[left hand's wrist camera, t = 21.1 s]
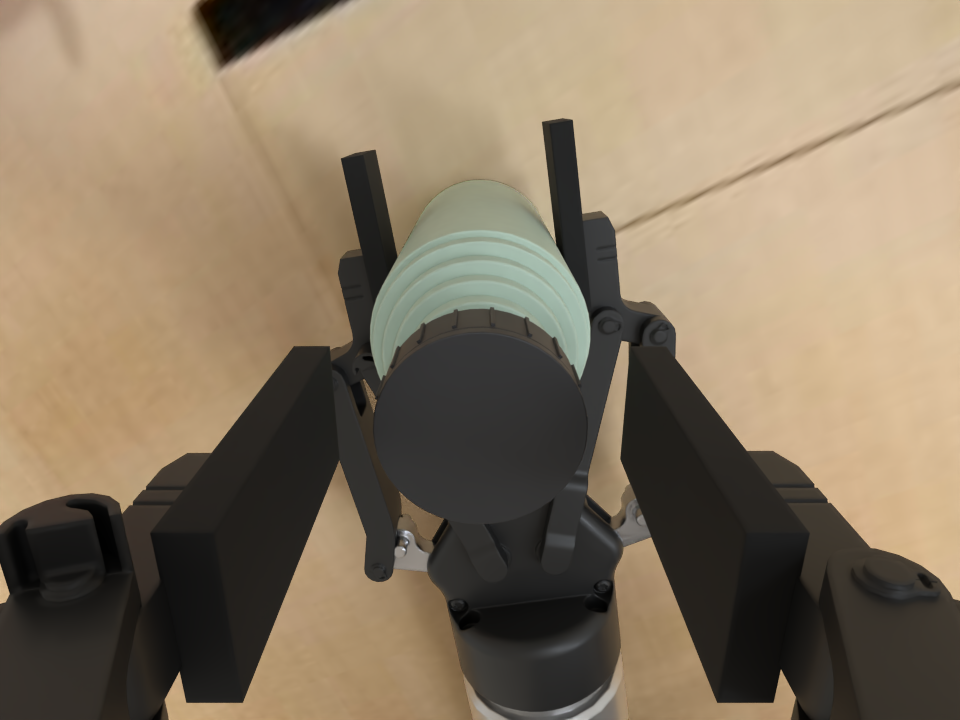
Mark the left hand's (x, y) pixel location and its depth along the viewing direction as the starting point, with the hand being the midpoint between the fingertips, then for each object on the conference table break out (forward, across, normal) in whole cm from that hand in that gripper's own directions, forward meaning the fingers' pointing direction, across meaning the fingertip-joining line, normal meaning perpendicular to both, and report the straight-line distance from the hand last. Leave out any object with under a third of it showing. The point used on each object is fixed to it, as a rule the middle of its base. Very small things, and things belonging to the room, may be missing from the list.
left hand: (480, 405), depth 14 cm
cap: (-1, 0, 0) cm, 1 cm away
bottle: (+17, 0, 0) cm, 17 cm away
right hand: (+11, +1, -5) cm, 12 cm away
